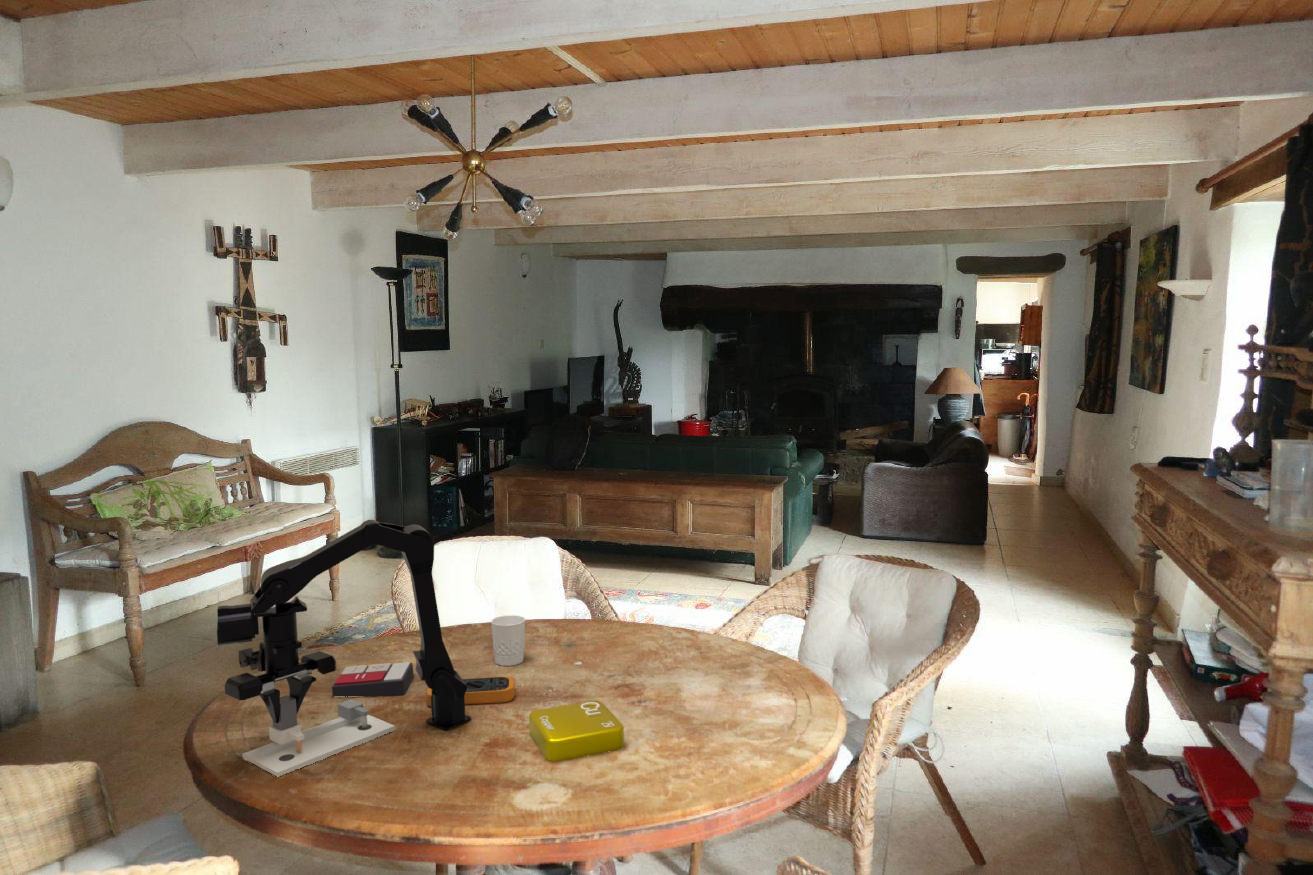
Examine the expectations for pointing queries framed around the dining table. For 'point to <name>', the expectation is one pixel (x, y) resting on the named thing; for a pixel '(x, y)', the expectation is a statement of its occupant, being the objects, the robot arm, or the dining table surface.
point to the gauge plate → (322, 740)
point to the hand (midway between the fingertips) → (284, 719)
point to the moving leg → (287, 724)
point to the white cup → (508, 639)
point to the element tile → (575, 730)
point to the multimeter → (486, 690)
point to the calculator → (374, 680)
